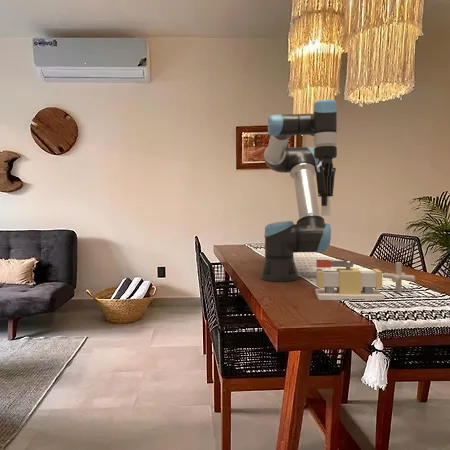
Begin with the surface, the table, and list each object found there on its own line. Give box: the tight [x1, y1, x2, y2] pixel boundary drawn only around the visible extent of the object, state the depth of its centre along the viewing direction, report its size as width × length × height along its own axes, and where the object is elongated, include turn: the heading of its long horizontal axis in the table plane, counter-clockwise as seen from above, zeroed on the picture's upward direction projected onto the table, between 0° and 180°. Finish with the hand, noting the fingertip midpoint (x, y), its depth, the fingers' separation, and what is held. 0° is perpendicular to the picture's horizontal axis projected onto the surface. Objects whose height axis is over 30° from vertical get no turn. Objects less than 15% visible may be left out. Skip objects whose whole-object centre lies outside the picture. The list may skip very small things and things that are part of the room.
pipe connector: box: [382, 261, 416, 293], centre depth 128 cm, size 10×10×10 cm
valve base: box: [315, 267, 385, 301], centre depth 123 cm, size 9×20×10 cm, turn 82°
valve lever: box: [315, 259, 354, 269], centre depth 123 cm, size 12×3×2 cm, turn 80°
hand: (325, 215), depth 130 cm, fingers closed
